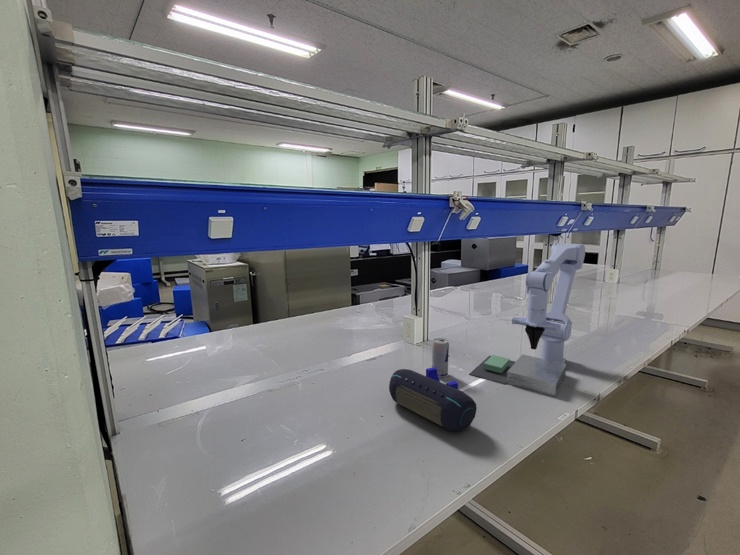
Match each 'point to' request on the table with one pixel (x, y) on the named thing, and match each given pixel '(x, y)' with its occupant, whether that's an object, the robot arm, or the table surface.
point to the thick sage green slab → (496, 364)
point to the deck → (537, 374)
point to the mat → (491, 373)
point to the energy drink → (440, 356)
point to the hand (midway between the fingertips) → (533, 348)
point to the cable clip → (433, 375)
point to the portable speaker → (432, 399)
